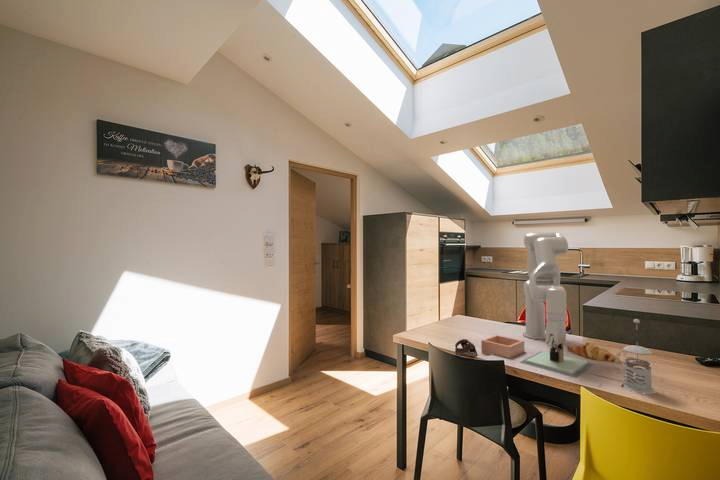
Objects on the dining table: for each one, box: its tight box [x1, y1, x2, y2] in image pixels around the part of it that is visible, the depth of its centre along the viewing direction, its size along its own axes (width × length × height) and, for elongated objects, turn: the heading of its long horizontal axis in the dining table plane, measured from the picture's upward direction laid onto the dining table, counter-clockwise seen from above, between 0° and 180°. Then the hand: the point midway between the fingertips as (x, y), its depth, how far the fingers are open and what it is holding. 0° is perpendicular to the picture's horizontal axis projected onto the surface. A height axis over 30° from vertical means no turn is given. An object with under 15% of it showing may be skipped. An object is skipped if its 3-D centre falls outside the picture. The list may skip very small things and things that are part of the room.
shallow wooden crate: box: [481, 334, 525, 359], centre depth 163 cm, size 14×14×6 cm
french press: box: [615, 318, 656, 395], centre depth 124 cm, size 10×12×25 cm
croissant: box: [566, 342, 622, 364], centre depth 154 cm, size 21×10×8 cm, turn 38°
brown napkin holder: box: [454, 338, 478, 357], centre depth 162 cm, size 12×10×8 cm
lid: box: [526, 348, 589, 375], centre depth 146 cm, size 18×18×6 cm
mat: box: [518, 350, 596, 379], centre depth 146 cm, size 22×22×1 cm
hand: (556, 358), depth 146 cm, fingers closed on lid, 4 cm apart
